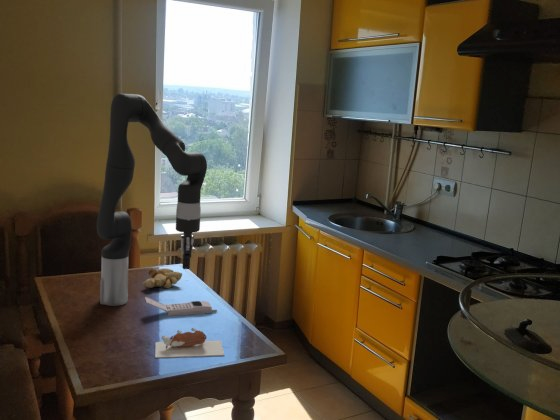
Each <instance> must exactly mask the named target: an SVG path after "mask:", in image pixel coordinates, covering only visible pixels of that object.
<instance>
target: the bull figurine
mask: <svg viewBox="0 0 560 420" xmlns="http://www.w3.org/2000/svg"><path fill="white" fill-rule="evenodd" d="M190 330H191V331H185V332H183V333H182V331H181V330H179V329H178V330H177V333H176V334H174V335H172V336H171V337H170V336H166V335H161V340H162V342H164V344H166V349H167V347H168V346H169V345H170V346H172V347H189V346H193V345H198V344H202V343H204V342H205V341H206V339H207V335H206V334H205V333H204V331H203V330H201V329H200V330H198V329H197V328H195V327H191V328H190Z"/></svg>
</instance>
